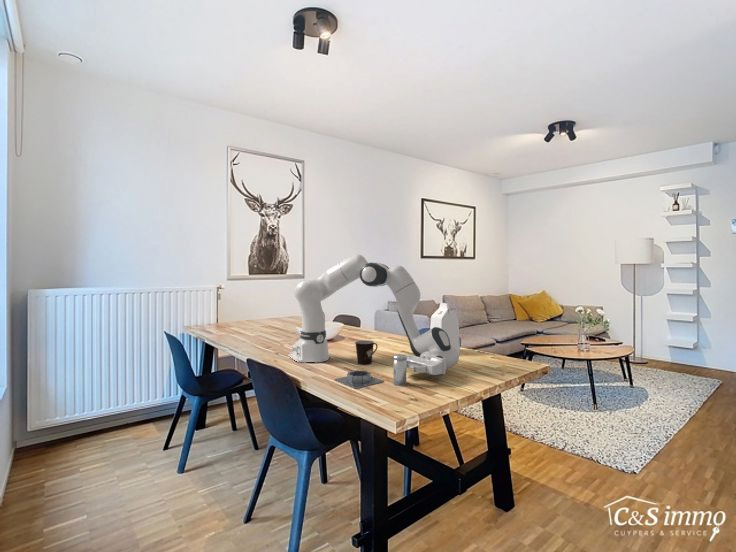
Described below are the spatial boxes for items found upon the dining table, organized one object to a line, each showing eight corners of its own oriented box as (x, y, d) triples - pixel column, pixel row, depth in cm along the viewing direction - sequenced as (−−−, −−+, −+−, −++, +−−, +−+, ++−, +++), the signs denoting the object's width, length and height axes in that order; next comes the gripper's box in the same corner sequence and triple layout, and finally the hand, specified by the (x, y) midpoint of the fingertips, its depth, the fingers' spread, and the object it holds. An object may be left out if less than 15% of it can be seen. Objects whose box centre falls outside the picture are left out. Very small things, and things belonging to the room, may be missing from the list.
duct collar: (334, 380, 155) (334, 372, 155) (361, 374, 164) (361, 367, 164) (355, 388, 144) (355, 380, 144) (383, 381, 153) (383, 374, 153)
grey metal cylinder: (390, 383, 151) (390, 355, 151) (400, 381, 154) (400, 353, 154) (399, 386, 147) (399, 357, 147) (409, 384, 150) (409, 355, 150)
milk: (460, 353, 203) (460, 303, 202) (441, 355, 198) (441, 304, 198) (447, 349, 214) (447, 301, 213) (429, 350, 210) (429, 302, 209)
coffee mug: (357, 366, 177) (357, 344, 177) (353, 361, 186) (353, 340, 185) (382, 364, 180) (382, 343, 180) (376, 360, 189) (376, 339, 189)
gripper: (411, 350, 170) (388, 354, 161) (449, 359, 154) (425, 364, 145) (411, 364, 170) (388, 369, 161) (448, 374, 154) (425, 381, 145)
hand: (406, 367), depth 153 cm, fingers open, 8 cm apart
